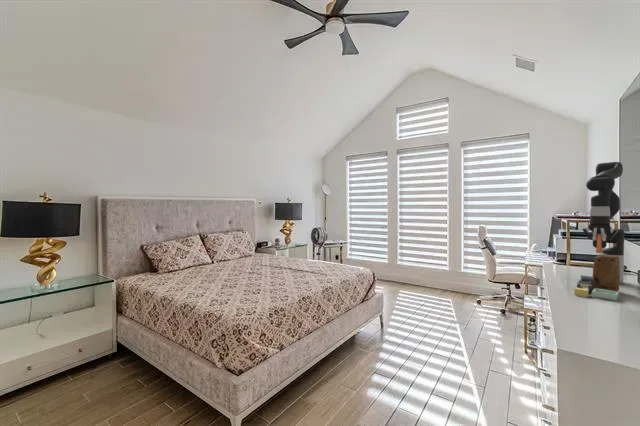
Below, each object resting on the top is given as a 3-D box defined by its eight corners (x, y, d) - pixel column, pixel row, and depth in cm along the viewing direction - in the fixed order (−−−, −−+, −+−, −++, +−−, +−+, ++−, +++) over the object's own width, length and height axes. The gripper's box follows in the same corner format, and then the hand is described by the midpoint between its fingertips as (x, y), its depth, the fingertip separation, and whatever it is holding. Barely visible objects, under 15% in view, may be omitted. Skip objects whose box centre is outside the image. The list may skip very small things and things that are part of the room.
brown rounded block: (620, 291, 156) (620, 255, 156) (618, 294, 152) (619, 257, 151) (593, 287, 165) (593, 253, 164) (591, 289, 160) (591, 254, 160)
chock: (576, 293, 154) (576, 287, 153) (588, 296, 150) (588, 289, 149) (574, 295, 151) (574, 288, 151) (586, 297, 147) (587, 290, 147)
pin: (596, 252, 150) (596, 233, 150) (602, 252, 148) (603, 234, 148) (595, 252, 149) (595, 234, 149) (602, 253, 147) (602, 234, 147)
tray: (595, 293, 153) (595, 287, 153) (619, 297, 146) (619, 291, 146) (591, 296, 148) (591, 291, 148) (616, 301, 140) (616, 295, 140)
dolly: (580, 288, 162) (580, 274, 162) (594, 290, 158) (594, 276, 157) (576, 291, 157) (576, 277, 156) (591, 294, 152) (591, 279, 152)
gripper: (620, 215, 145) (619, 248, 145) (583, 214, 156) (583, 245, 156) (617, 215, 141) (617, 249, 141) (580, 215, 152) (580, 246, 152)
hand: (599, 247), depth 149 cm, fingers closed on pin, 2 cm apart
